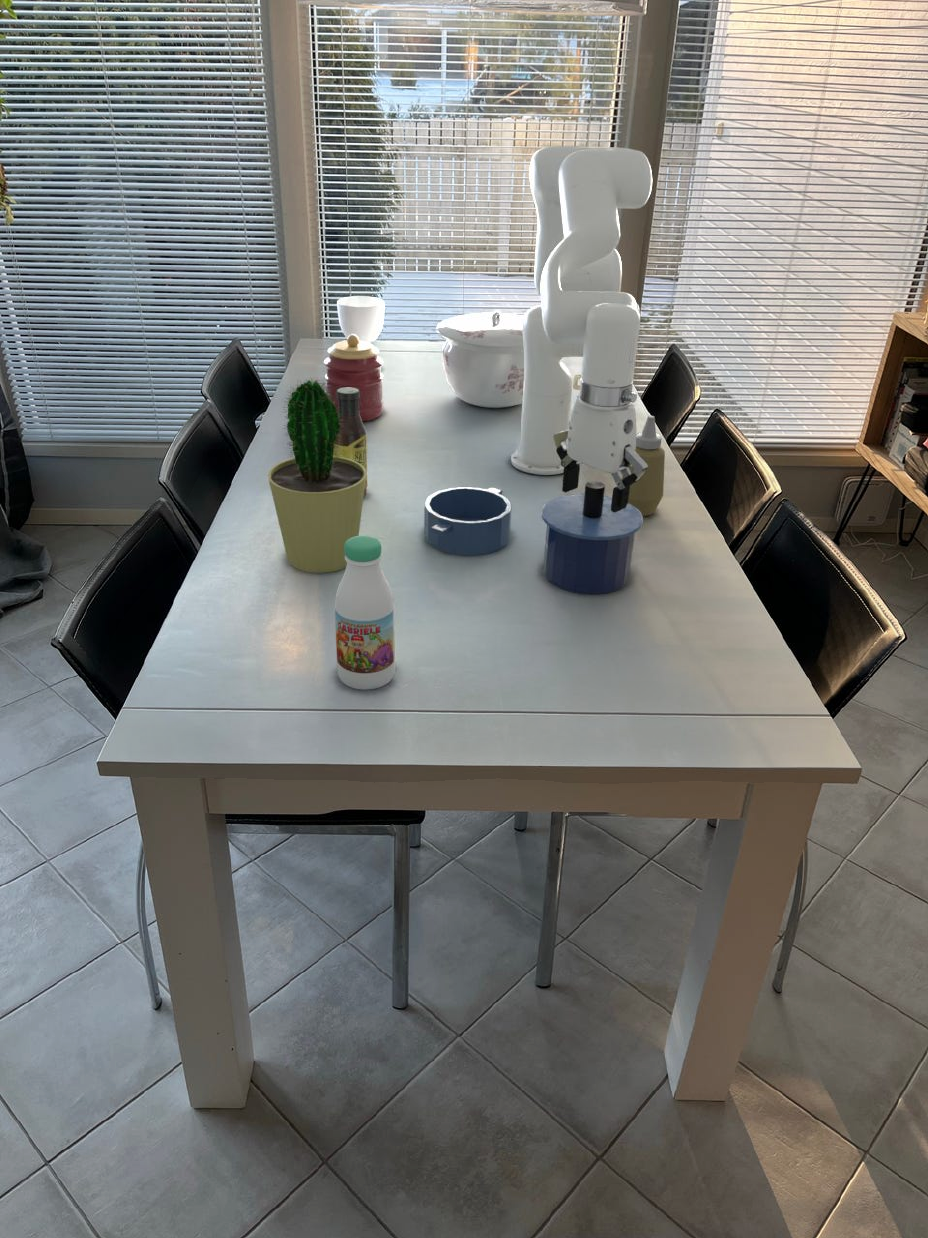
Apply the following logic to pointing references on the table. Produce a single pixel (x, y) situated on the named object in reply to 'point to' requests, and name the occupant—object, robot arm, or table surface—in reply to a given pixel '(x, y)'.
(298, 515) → the potted cactus
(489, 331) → the chamber pot
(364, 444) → the sauce bottle
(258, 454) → the table surface
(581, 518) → the lid
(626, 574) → the pot
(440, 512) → the pan
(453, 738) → the table surface
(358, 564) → the milk bottle
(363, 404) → the kitchen canister
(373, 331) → the cup
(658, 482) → the squeeze bottle
